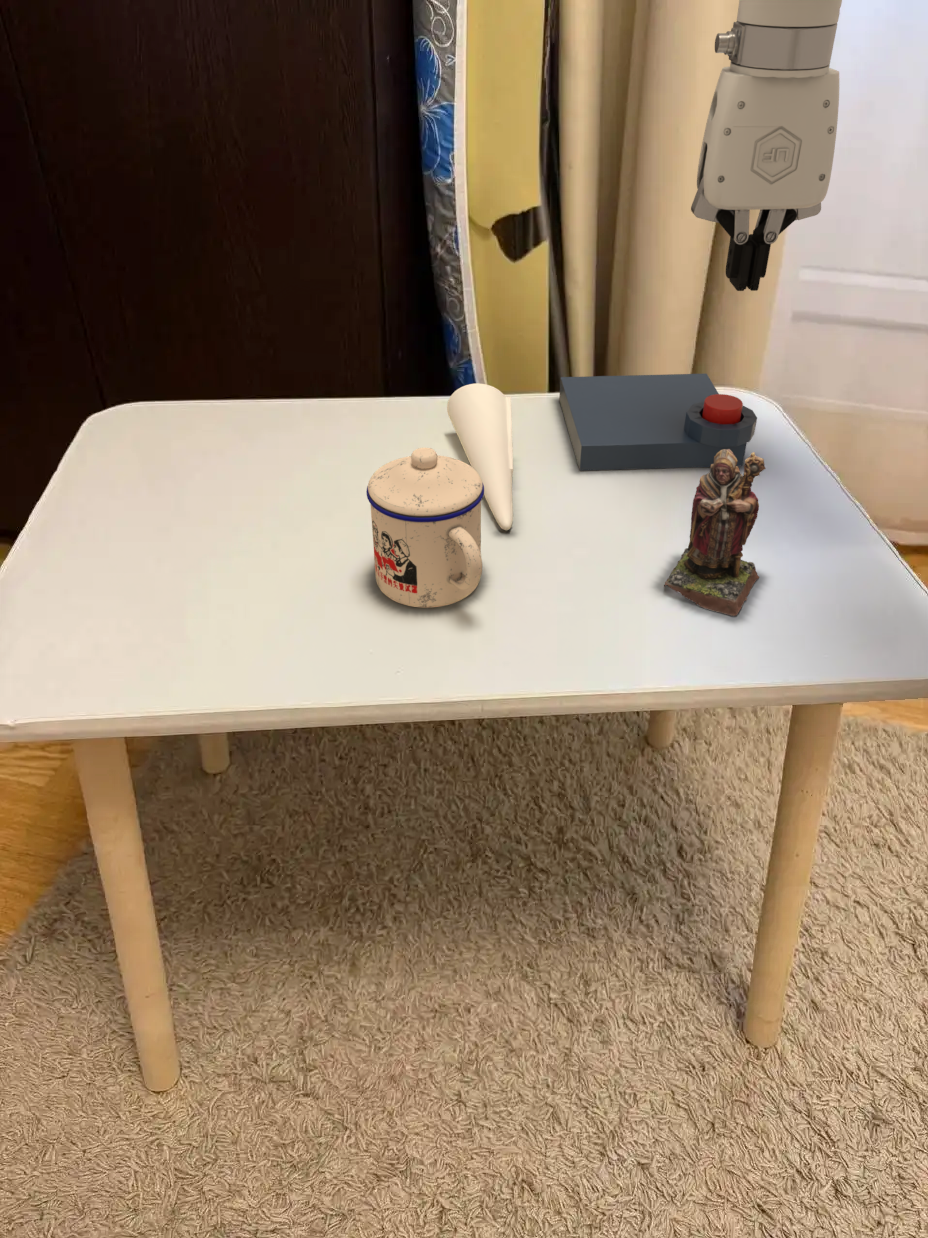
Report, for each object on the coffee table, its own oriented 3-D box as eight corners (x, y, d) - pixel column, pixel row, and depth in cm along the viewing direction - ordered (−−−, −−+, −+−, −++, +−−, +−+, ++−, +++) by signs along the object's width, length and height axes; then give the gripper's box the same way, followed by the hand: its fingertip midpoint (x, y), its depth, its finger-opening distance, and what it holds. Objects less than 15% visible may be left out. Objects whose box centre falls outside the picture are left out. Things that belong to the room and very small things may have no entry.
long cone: (439, 548, 88) (444, 429, 102) (510, 554, 89) (506, 434, 103) (444, 496, 84) (449, 380, 98) (519, 503, 85) (513, 386, 99)
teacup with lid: (353, 569, 83) (342, 443, 76) (446, 537, 87) (444, 415, 80) (426, 645, 75) (421, 512, 68) (525, 606, 78) (530, 477, 71)
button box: (712, 396, 109) (718, 357, 107) (756, 471, 96) (764, 428, 93) (559, 400, 109) (561, 360, 106) (581, 476, 95) (584, 433, 92)
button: (734, 409, 97) (737, 393, 96) (744, 426, 94) (747, 409, 93) (698, 410, 97) (700, 394, 96) (707, 427, 94) (709, 410, 93)
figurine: (683, 556, 84) (702, 427, 77) (760, 576, 82) (786, 445, 74) (658, 595, 80) (675, 461, 72) (737, 617, 77) (763, 482, 70)
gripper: (697, 58, 74) (668, 302, 85) (896, 55, 74) (841, 298, 85) (675, 43, 80) (650, 273, 91) (859, 41, 80) (812, 270, 91)
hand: (743, 285), depth 88 cm, fingers closed
